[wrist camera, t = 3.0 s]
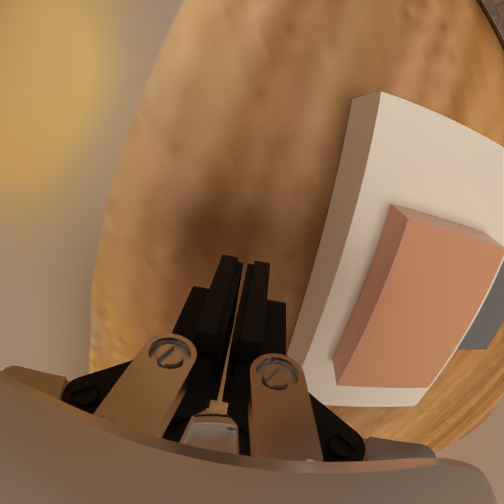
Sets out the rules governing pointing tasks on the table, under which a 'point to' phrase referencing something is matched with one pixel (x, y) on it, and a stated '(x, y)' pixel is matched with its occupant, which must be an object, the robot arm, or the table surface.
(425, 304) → the tile
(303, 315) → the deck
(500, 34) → the tin
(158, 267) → the table surface
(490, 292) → the mat
